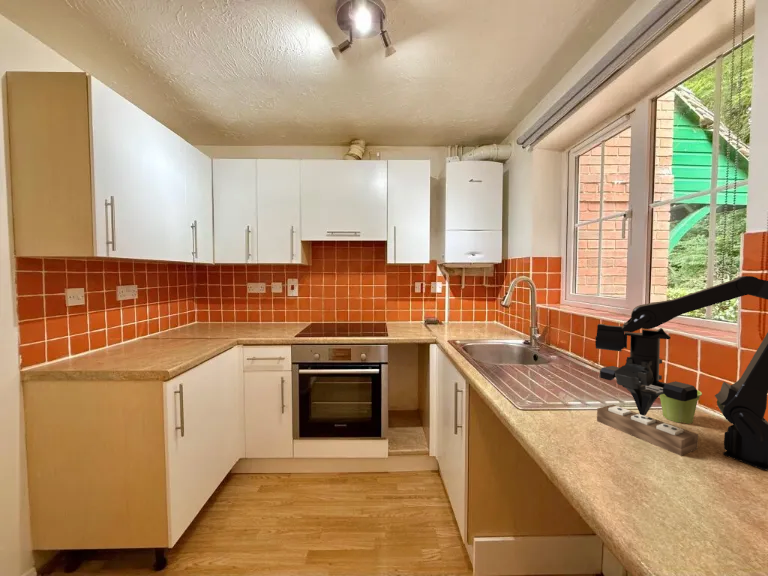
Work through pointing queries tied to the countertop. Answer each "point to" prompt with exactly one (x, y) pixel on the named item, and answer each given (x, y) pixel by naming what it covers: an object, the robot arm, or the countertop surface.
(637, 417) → the tile three dot
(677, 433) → the tile two dot
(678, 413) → the plant pot
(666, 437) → the tile board
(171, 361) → the countertop surface
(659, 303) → the robot arm
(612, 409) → the tile one dot
